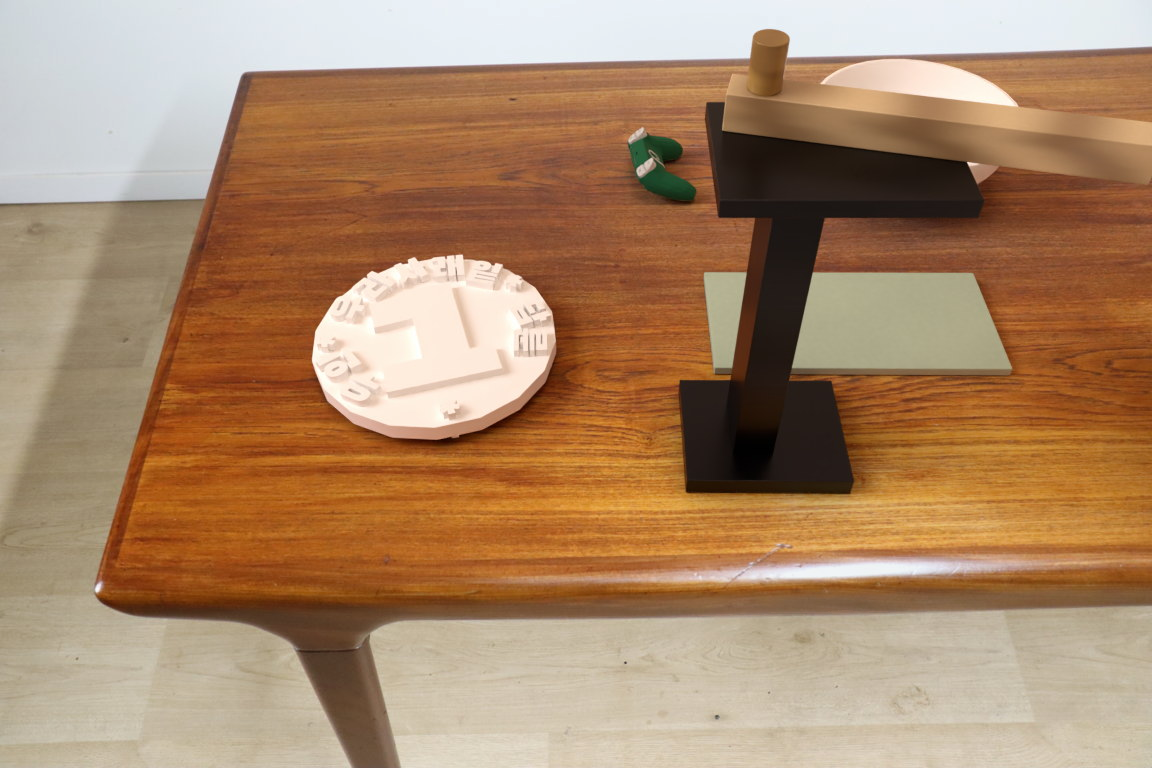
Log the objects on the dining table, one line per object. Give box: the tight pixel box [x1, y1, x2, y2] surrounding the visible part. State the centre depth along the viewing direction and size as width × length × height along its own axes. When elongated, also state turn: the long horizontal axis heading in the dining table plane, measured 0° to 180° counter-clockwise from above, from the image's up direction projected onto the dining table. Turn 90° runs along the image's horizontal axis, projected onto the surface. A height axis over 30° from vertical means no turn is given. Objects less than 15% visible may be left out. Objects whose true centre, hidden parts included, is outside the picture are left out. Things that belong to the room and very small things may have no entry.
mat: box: [703, 271, 1013, 376], centre depth 81 cm, size 24×12×1 cm, turn 89°
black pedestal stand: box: [677, 101, 986, 495], centre depth 63 cm, size 14×10×26 cm
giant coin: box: [311, 254, 557, 441], centre depth 78 cm, size 20×20×3 cm
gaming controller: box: [627, 126, 698, 202], centre depth 95 cm, size 9×4×6 cm
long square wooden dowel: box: [722, 28, 1152, 186], centre depth 52 cm, size 23×2×5 cm, turn 75°
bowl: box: [820, 58, 1020, 186], centre depth 92 cm, size 20×19×8 cm
